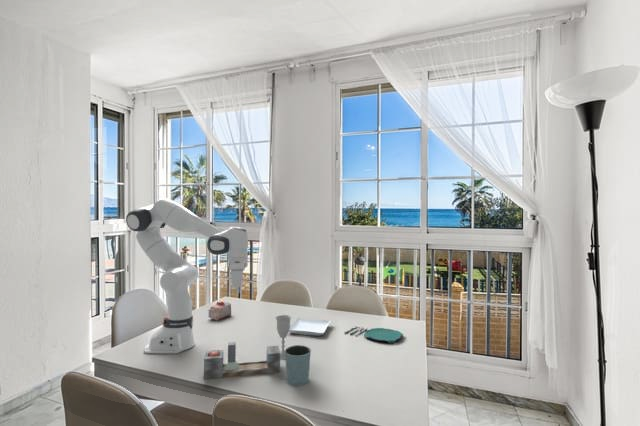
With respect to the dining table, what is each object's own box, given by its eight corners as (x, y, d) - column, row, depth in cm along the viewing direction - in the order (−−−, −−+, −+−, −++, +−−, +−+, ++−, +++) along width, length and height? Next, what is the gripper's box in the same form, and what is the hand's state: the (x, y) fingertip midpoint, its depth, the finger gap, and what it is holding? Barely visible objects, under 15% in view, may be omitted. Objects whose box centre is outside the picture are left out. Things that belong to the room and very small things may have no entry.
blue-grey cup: (310, 374, 141) (310, 345, 141) (310, 386, 131) (310, 355, 131) (285, 374, 141) (285, 345, 141) (283, 386, 131) (284, 355, 130)
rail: (203, 379, 135) (204, 358, 135) (205, 370, 143) (206, 350, 143) (280, 372, 142) (280, 353, 142) (277, 363, 150) (278, 345, 150)
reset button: (208, 365, 138) (209, 355, 138) (209, 361, 141) (209, 351, 141) (218, 364, 139) (218, 354, 139) (218, 360, 142) (218, 350, 142)
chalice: (283, 352, 162) (284, 314, 162) (293, 356, 158) (294, 317, 158) (271, 357, 157) (272, 317, 157) (282, 361, 152) (283, 320, 152)
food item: (217, 321, 206) (217, 305, 206) (207, 319, 209) (207, 303, 209) (232, 315, 218) (232, 300, 218) (222, 314, 221) (223, 298, 221)
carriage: (225, 371, 139) (225, 346, 139) (225, 365, 144) (225, 341, 144) (237, 370, 140) (238, 345, 140) (237, 364, 145) (238, 340, 145)
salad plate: (285, 335, 186) (285, 328, 186) (297, 322, 207) (297, 317, 207) (323, 339, 181) (323, 332, 181) (332, 326, 202) (332, 320, 202)
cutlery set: (394, 347, 171) (394, 342, 171) (341, 336, 187) (341, 331, 187) (407, 336, 187) (407, 331, 187) (358, 326, 204) (358, 322, 204)
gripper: (231, 259, 165) (231, 288, 166) (229, 266, 145) (228, 299, 145) (245, 259, 167) (244, 287, 167) (244, 266, 147) (243, 298, 147)
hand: (237, 293), depth 156 cm, fingers closed
